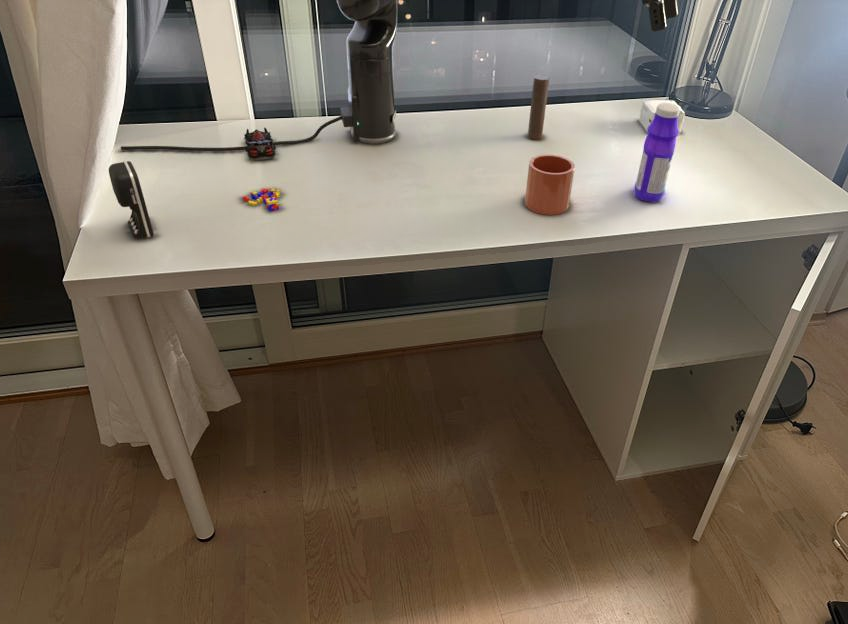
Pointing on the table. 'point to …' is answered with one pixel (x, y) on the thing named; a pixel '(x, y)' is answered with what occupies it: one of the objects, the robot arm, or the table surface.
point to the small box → (650, 110)
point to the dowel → (538, 107)
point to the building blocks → (270, 202)
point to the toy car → (259, 145)
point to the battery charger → (131, 197)
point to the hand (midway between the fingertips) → (665, 23)
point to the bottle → (657, 153)
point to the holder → (549, 184)
